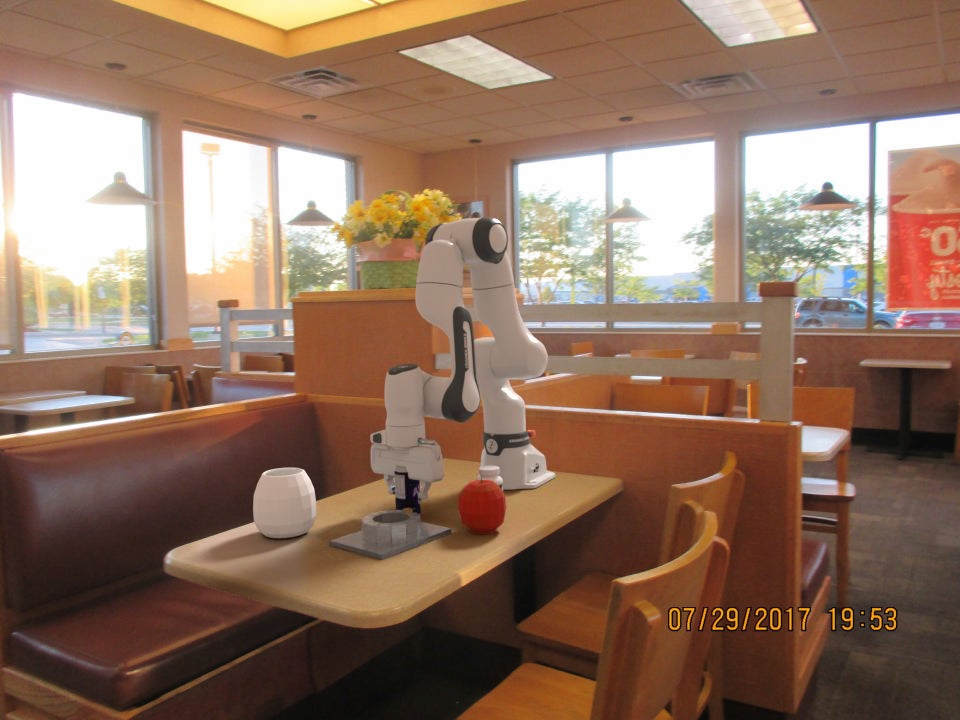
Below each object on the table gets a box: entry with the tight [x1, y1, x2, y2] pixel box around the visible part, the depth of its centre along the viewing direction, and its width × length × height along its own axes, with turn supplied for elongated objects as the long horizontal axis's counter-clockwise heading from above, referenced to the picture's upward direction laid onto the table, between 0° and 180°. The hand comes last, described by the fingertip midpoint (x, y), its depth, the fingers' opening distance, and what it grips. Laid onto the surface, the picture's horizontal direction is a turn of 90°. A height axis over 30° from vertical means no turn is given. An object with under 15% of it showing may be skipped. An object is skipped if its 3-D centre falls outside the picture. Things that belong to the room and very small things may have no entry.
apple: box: [457, 478, 507, 535], centre depth 159 cm, size 10×10×12 cm
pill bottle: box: [475, 466, 504, 492], centre depth 171 cm, size 6×6×11 cm
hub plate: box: [329, 508, 452, 561], centre depth 155 cm, size 20×15×5 cm
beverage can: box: [394, 466, 422, 515], centre depth 171 cm, size 6×6×12 cm
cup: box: [252, 467, 317, 539], centre depth 161 cm, size 13×13×14 cm
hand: (407, 496), depth 172 cm, fingers open, 8 cm apart
